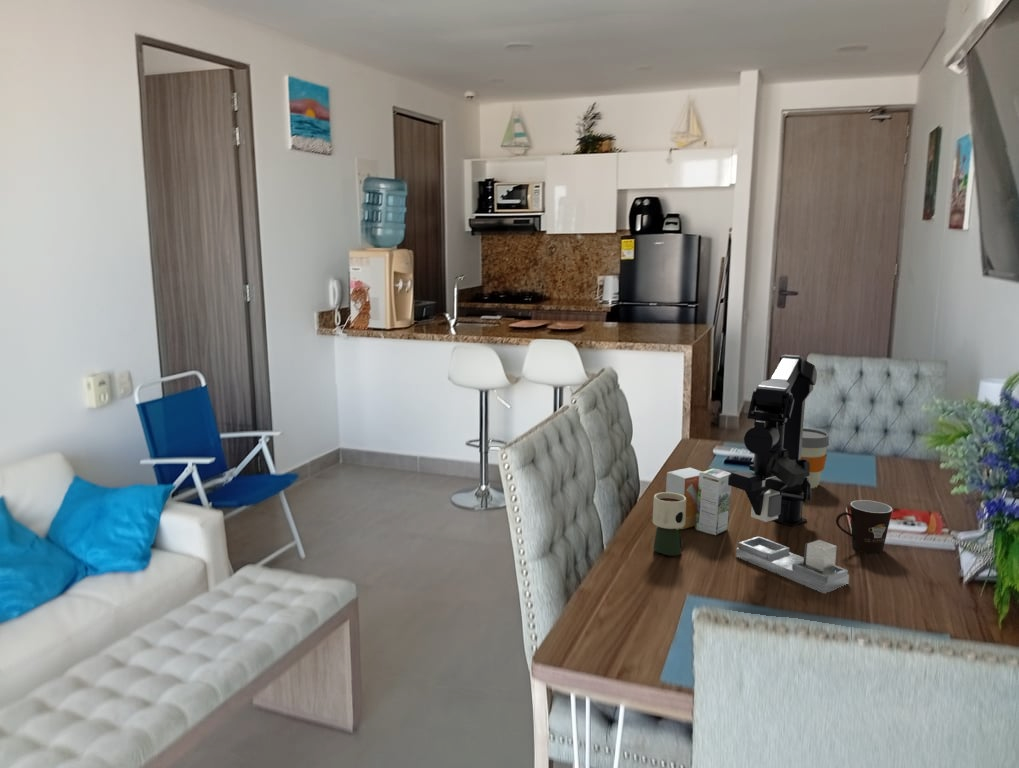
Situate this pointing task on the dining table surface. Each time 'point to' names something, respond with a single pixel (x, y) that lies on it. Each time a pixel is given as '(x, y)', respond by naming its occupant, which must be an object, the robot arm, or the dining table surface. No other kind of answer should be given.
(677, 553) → the character mug
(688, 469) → the small box
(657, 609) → the dining table surface
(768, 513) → the light grey upright block
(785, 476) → the robot arm
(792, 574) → the rail
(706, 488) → the syrup box
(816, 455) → the reusable coffee cup
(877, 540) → the coffee mug
